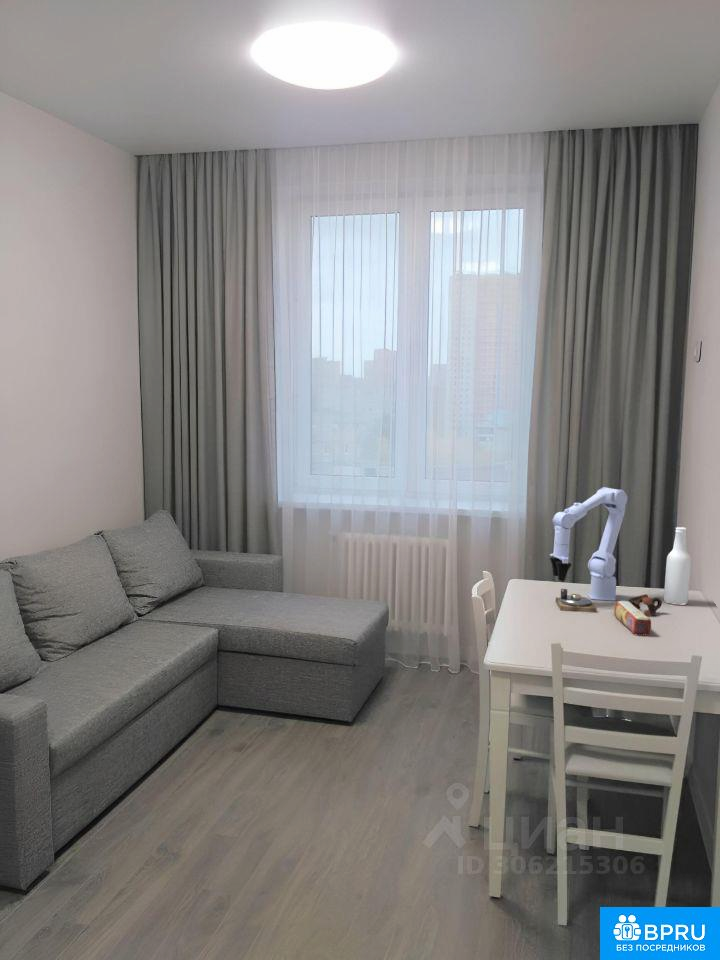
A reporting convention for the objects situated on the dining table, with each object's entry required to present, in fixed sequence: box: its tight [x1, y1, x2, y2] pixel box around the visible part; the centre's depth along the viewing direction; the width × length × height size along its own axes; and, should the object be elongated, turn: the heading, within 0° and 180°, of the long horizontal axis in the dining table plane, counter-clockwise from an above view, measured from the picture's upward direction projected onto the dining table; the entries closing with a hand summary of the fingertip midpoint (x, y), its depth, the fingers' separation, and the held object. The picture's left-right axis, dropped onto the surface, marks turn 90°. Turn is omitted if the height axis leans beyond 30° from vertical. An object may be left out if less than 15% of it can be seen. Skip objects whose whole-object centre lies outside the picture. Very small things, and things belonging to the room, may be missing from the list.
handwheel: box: [560, 588, 592, 606], centre depth 293 cm, size 11×11×5 cm
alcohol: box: [663, 526, 692, 604], centre depth 302 cm, size 9×9×30 cm
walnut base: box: [555, 597, 597, 613], centre depth 293 cm, size 13×13×2 cm
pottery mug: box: [627, 593, 663, 617], centre depth 287 cm, size 12×10×8 cm
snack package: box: [613, 600, 652, 636], centre depth 269 cm, size 21×7×7 cm, turn 179°
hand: (559, 578), depth 298 cm, fingers open, 7 cm apart
